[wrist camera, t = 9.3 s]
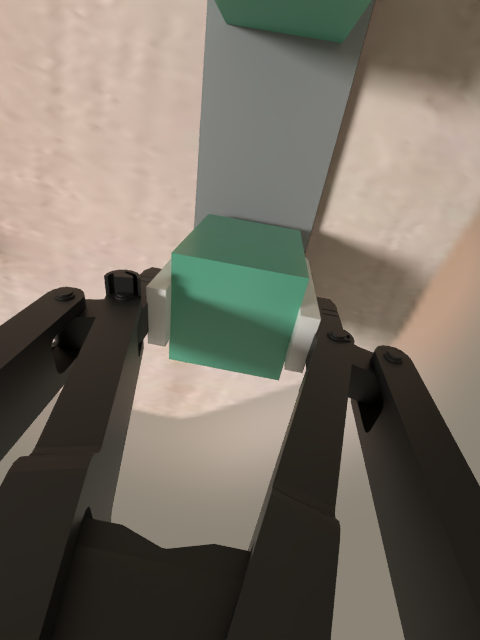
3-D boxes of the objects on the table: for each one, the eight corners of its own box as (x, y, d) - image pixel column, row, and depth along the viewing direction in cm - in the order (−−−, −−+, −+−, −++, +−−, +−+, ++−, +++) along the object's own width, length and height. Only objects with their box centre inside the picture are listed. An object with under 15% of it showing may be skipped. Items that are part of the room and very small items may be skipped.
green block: (201, 294, 19) (168, 358, 14) (208, 213, 17) (171, 252, 11) (279, 309, 19) (278, 380, 14) (300, 230, 16) (309, 278, 11)
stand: (192, 296, 22) (157, 360, 15) (222, -190, 11) (145, -617, 5) (286, 313, 21) (289, 385, 15) (417, -161, 10) (602, -559, 4)
